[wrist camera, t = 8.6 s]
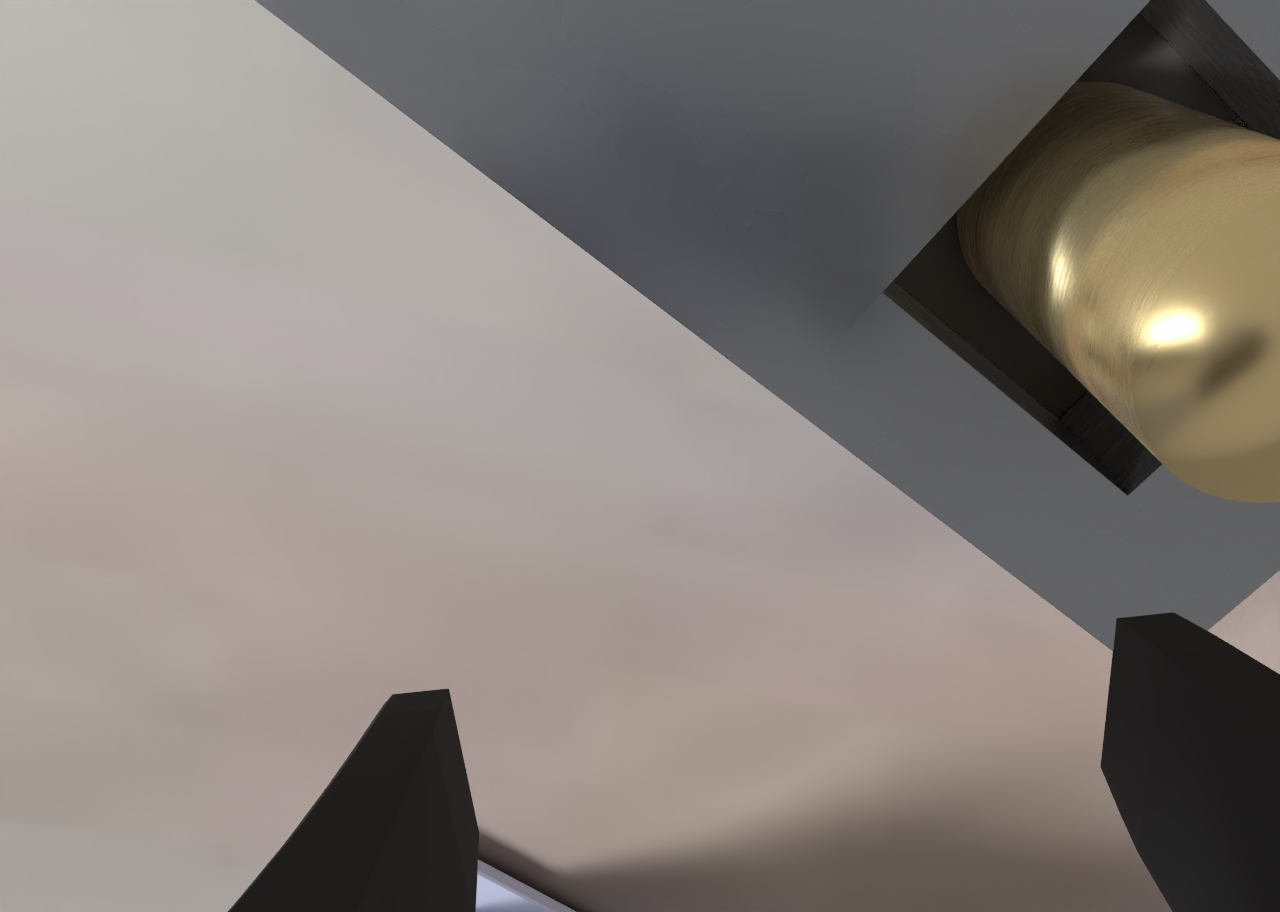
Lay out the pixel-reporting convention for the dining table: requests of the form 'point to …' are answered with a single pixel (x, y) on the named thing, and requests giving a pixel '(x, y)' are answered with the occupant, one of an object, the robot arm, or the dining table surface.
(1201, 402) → the cylinder
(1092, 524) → the junction block
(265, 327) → the dining table surface
